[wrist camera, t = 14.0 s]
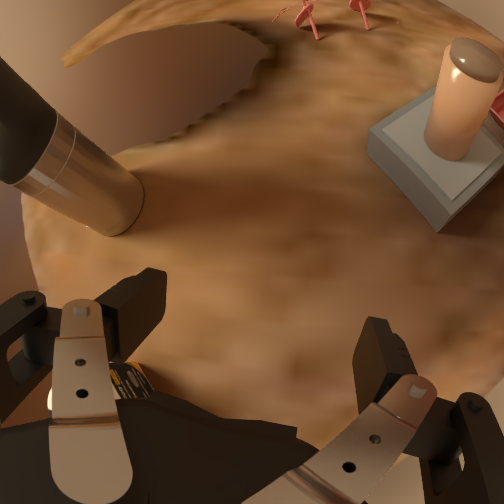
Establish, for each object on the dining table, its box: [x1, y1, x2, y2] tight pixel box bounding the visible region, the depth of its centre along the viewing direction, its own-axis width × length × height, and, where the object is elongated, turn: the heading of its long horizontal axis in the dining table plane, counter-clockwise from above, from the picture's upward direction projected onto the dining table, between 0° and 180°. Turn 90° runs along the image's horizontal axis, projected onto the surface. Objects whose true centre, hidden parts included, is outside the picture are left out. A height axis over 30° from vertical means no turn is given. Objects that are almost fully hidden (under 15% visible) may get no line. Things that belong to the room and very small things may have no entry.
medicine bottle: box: [48, 362, 154, 418], centre depth 27 cm, size 7×7×12 cm
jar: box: [424, 38, 503, 161], centre depth 21 cm, size 5×5×12 cm
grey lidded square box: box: [367, 85, 504, 233], centre depth 29 cm, size 12×12×5 cm
